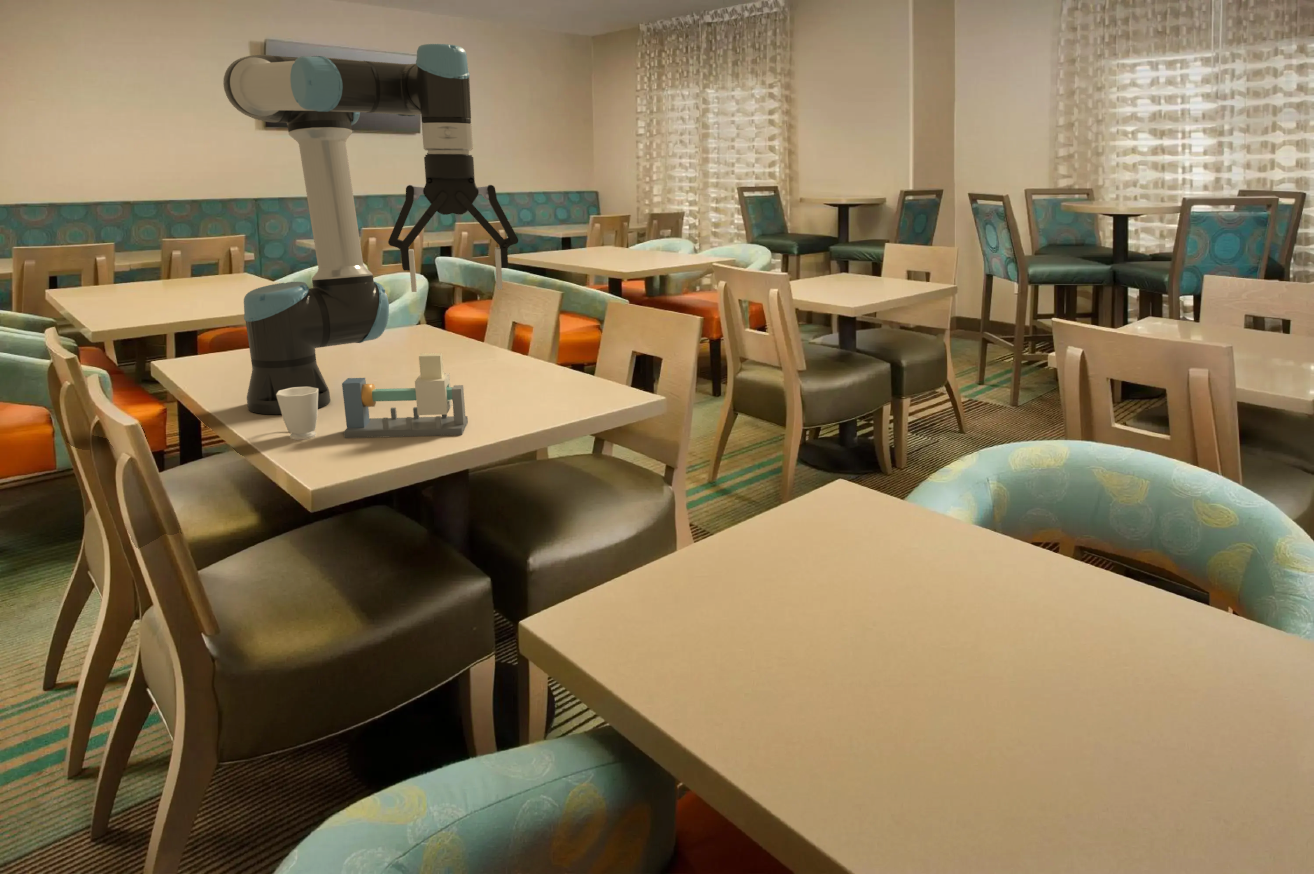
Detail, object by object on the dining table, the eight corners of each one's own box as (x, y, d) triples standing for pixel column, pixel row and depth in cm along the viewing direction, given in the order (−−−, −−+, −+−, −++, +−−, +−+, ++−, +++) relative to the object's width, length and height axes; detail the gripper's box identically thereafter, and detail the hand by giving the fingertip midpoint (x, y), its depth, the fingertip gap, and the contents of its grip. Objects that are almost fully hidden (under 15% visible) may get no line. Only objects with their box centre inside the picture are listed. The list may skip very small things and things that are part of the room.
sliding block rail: (467, 422, 160) (464, 373, 158) (462, 434, 153) (458, 383, 150) (356, 425, 159) (350, 375, 156) (344, 438, 151) (338, 386, 148)
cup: (287, 444, 148) (281, 398, 145) (272, 431, 155) (266, 387, 153) (329, 437, 152) (324, 392, 149) (312, 424, 159) (307, 381, 157)
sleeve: (451, 405, 158) (447, 351, 155) (446, 414, 152) (442, 357, 149) (423, 406, 158) (419, 351, 155) (417, 415, 152) (412, 358, 149)
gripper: (363, 152, 130) (376, 295, 137) (531, 153, 136) (536, 290, 142) (366, 152, 137) (378, 288, 144) (526, 153, 143) (531, 284, 149)
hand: (457, 290), depth 143 cm, fingers open, 13 cm apart
